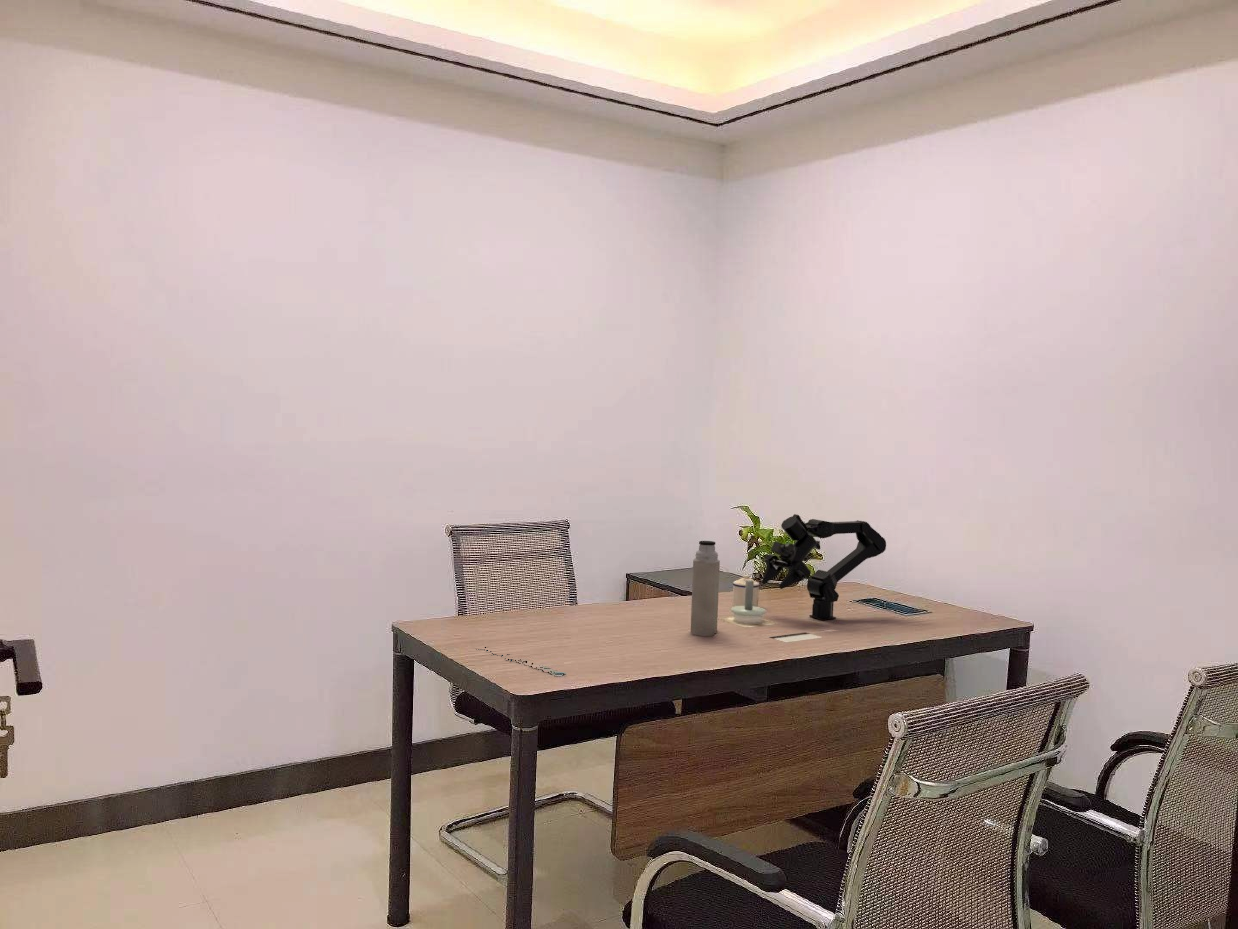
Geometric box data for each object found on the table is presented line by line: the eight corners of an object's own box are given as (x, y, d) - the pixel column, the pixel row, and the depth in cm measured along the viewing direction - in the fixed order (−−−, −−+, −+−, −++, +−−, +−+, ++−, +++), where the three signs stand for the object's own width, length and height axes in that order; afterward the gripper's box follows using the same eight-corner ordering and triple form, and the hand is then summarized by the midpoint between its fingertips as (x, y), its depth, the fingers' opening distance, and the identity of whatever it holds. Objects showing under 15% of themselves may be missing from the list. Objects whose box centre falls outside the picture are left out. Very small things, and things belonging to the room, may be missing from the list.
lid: (762, 608, 330) (764, 578, 330) (768, 615, 319) (770, 584, 319) (728, 607, 330) (730, 577, 329) (733, 614, 319) (734, 583, 318)
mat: (788, 628, 320) (788, 627, 320) (822, 638, 308) (822, 637, 308) (751, 633, 312) (751, 632, 312) (785, 643, 299) (785, 642, 299)
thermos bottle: (694, 629, 315) (697, 538, 313) (719, 632, 312) (723, 540, 311) (687, 634, 307) (691, 541, 306) (713, 637, 305) (717, 543, 303)
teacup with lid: (763, 611, 348) (765, 577, 347) (740, 612, 344) (742, 578, 343) (744, 604, 358) (746, 571, 358) (722, 605, 354) (723, 572, 354)
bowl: (749, 617, 331) (749, 608, 331) (768, 622, 323) (768, 613, 323) (727, 619, 326) (728, 610, 326) (746, 625, 318) (746, 615, 318)
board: (749, 618, 334) (750, 615, 334) (779, 626, 323) (779, 623, 323) (716, 622, 327) (716, 619, 327) (745, 630, 315) (745, 627, 315)
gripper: (769, 529, 338) (740, 564, 333) (805, 536, 321) (774, 573, 317) (787, 552, 342) (759, 587, 337) (823, 560, 325) (794, 597, 321)
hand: (771, 585), depth 328 cm, fingers open, 9 cm apart
